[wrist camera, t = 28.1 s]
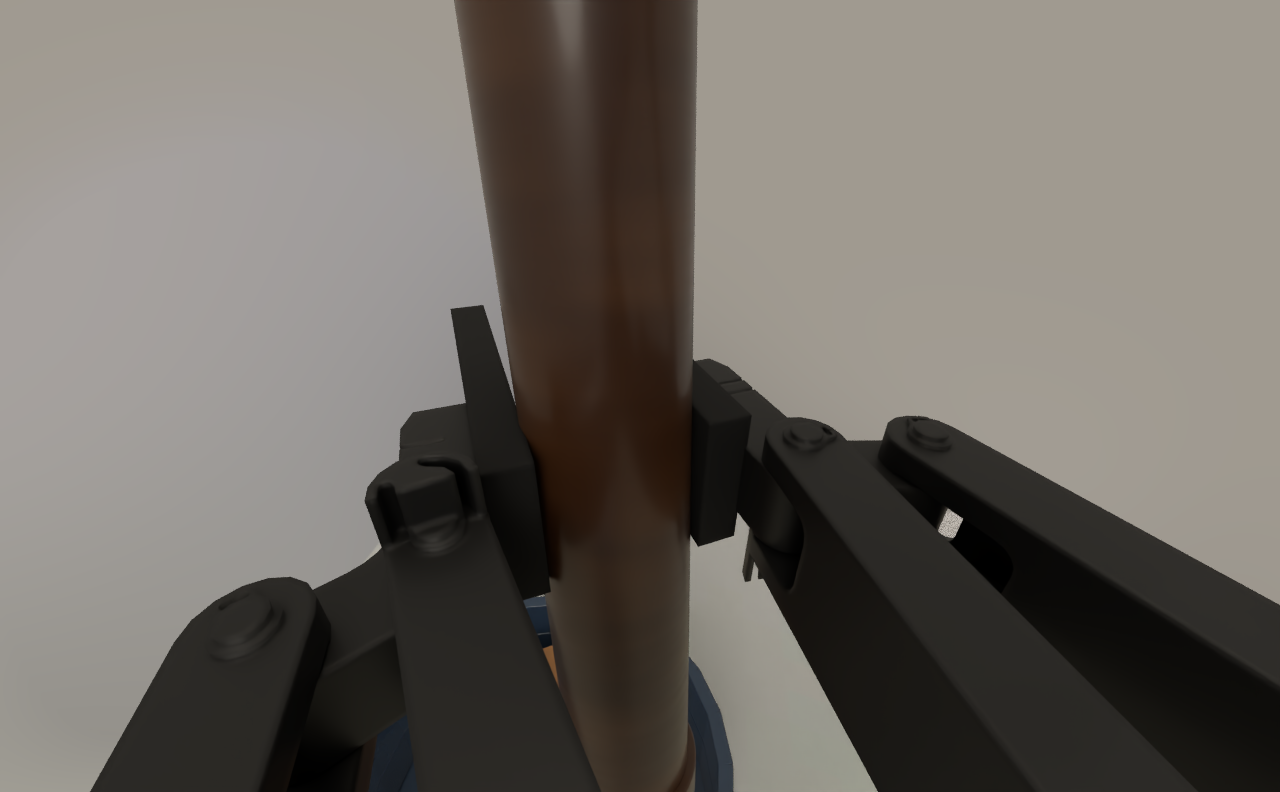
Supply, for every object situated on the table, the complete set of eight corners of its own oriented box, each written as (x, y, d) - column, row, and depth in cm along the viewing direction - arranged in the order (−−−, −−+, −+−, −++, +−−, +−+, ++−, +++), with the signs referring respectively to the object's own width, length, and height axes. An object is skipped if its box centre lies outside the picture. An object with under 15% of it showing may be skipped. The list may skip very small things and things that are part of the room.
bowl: (644, 621, 31) (646, 561, 28) (792, 958, 19) (821, 911, 16) (377, 714, 26) (347, 652, 23) (346, 1247, 14) (275, 1253, 11)
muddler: (663, 696, 14) (651, -7, 7) (719, 819, 11) (778, -113, 5) (553, 740, 13) (423, -27, 6) (585, 887, 10) (418, -176, 4)
